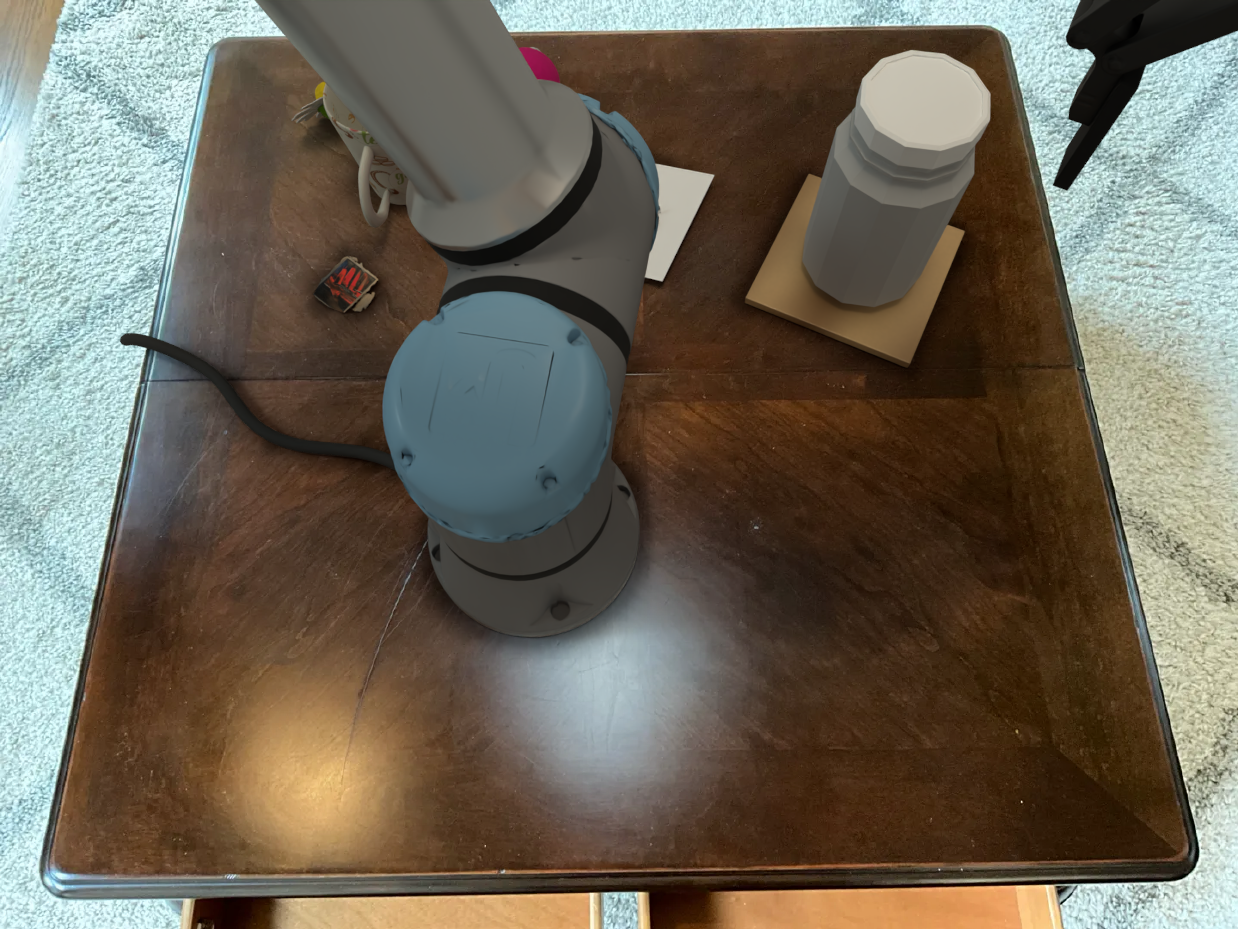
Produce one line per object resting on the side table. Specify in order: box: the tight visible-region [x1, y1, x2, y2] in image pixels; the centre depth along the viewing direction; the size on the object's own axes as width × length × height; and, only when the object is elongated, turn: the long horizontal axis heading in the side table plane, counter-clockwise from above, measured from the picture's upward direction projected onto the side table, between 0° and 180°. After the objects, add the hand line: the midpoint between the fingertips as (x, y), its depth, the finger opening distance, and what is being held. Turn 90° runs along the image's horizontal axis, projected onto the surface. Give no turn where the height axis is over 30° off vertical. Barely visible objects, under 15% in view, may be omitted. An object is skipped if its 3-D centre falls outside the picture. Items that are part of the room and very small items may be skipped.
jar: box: [802, 49, 991, 307], centre depth 64 cm, size 10×10×18 cm
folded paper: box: [645, 163, 715, 282], centre depth 75 cm, size 12×12×2 cm
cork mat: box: [744, 173, 966, 369], centre depth 73 cm, size 14×14×1 cm
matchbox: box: [312, 254, 379, 313], centre depth 73 cm, size 5×5×1 cm
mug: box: [323, 84, 409, 229], centre depth 72 cm, size 8×13×10 cm, turn 175°
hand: (1205, 217), depth 43 cm, fingers open, 13 cm apart
